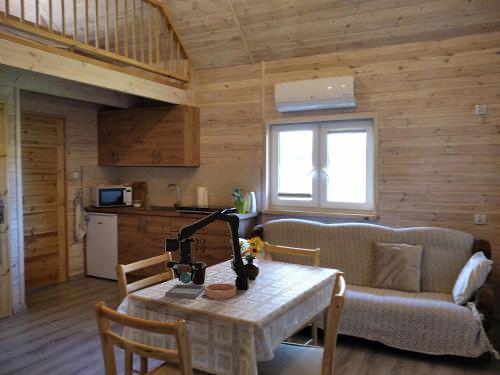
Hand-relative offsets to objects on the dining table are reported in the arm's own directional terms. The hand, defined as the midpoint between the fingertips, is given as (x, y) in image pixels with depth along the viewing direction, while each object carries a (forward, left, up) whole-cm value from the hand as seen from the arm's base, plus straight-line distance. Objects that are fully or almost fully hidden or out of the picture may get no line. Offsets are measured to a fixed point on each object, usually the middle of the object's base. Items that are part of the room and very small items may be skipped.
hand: (185, 281), depth 219 cm
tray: (0, 0, -6) cm, 6 cm away
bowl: (-18, -1, -6) cm, 19 cm away
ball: (0, 0, +2) cm, 2 cm away
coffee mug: (-1, -21, -6) cm, 22 cm away
